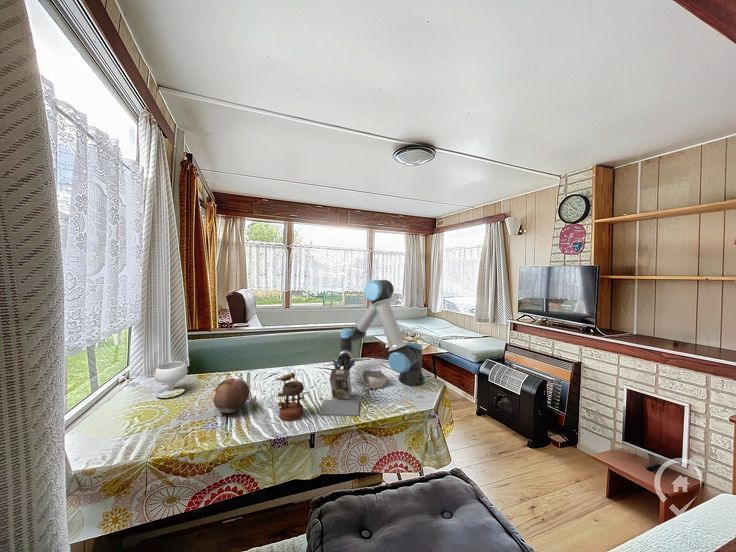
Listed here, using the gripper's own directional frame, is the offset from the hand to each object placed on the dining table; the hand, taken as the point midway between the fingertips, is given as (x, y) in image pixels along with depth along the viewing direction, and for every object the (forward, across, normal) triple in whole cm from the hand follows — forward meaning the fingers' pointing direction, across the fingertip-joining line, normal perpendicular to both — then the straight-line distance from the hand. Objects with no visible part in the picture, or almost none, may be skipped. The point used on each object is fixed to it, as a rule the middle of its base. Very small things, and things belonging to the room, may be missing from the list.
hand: (340, 373), depth 144 cm
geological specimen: (-19, -19, -13) cm, 29 cm away
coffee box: (0, -1, -11) cm, 11 cm away
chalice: (+2, +87, -13) cm, 88 cm away
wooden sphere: (+17, +49, -13) cm, 53 cm away
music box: (+18, +20, -13) cm, 30 cm away
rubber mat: (+12, -1, -12) cm, 17 cm away
